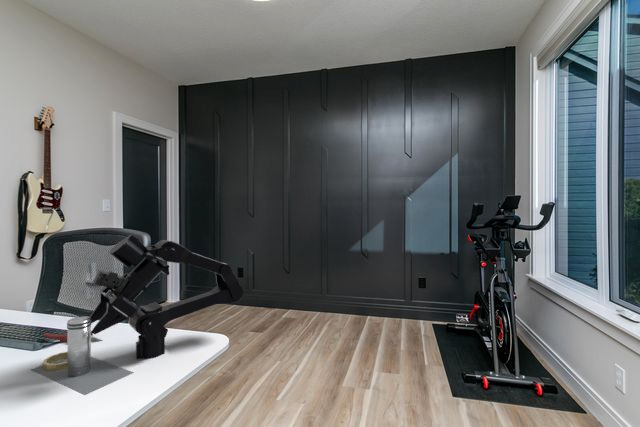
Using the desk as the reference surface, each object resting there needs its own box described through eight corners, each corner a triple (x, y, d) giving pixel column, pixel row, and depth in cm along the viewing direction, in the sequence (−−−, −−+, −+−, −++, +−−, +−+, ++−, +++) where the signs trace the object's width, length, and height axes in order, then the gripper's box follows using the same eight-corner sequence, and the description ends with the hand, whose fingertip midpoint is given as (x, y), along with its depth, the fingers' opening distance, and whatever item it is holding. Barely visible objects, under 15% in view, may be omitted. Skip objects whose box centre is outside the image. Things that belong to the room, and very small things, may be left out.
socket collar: (83, 357, 90) (83, 348, 90) (81, 369, 83) (81, 359, 83) (45, 364, 85) (45, 355, 85) (40, 378, 79) (40, 367, 79)
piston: (91, 365, 83) (91, 315, 83) (90, 373, 79) (90, 320, 79) (67, 370, 80) (68, 318, 80) (65, 379, 76) (65, 324, 76)
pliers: (76, 354, 93) (76, 345, 93) (39, 341, 102) (40, 333, 102) (116, 340, 103) (116, 332, 103) (80, 329, 112) (80, 322, 112)
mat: (30, 373, 81) (30, 369, 81) (79, 356, 91) (79, 352, 91) (85, 399, 70) (85, 394, 70) (134, 376, 80) (134, 372, 80)
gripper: (109, 254, 91) (59, 300, 84) (122, 263, 77) (63, 319, 70) (141, 279, 96) (96, 324, 89) (158, 291, 82) (106, 346, 75)
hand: (90, 327), depth 81 cm, fingers open, 9 cm apart
